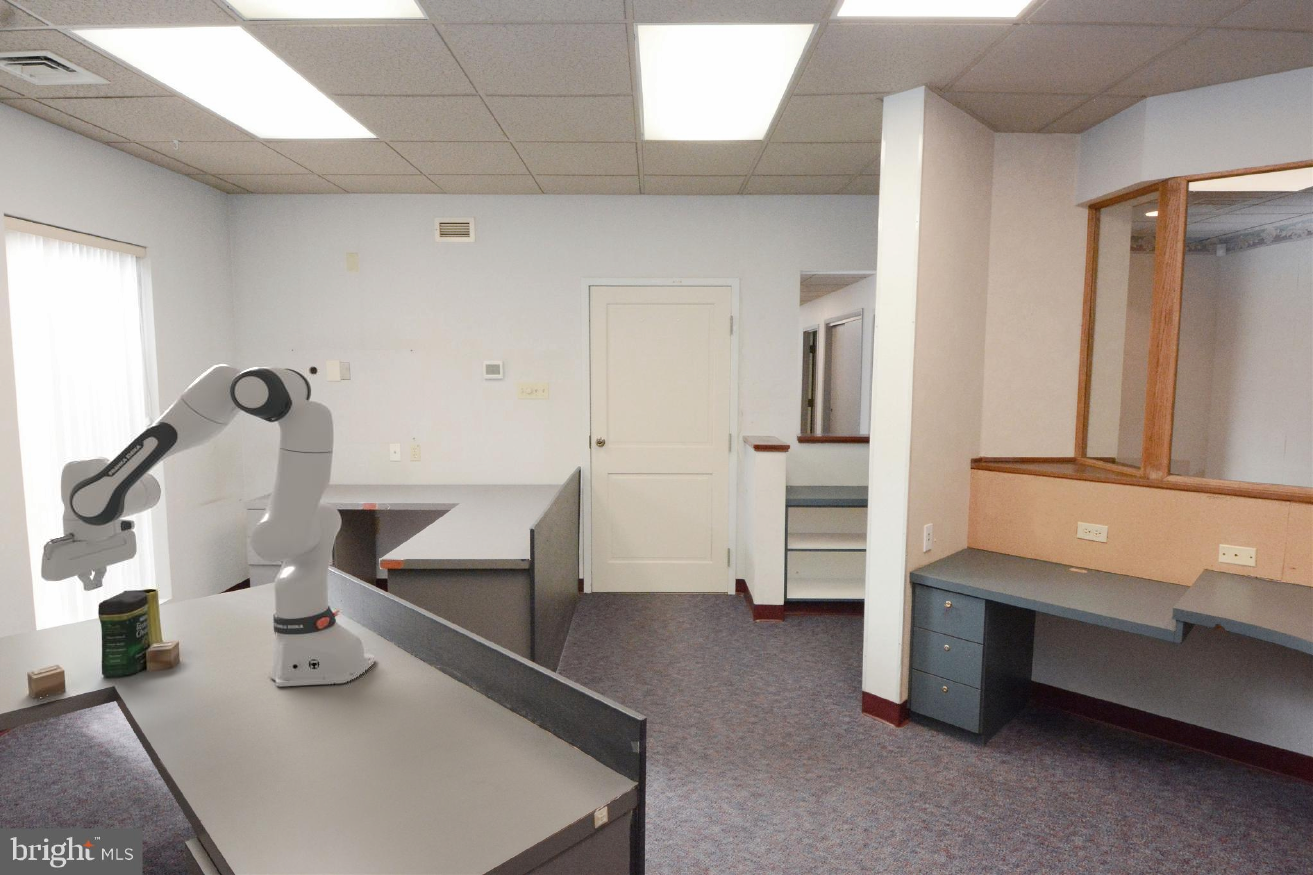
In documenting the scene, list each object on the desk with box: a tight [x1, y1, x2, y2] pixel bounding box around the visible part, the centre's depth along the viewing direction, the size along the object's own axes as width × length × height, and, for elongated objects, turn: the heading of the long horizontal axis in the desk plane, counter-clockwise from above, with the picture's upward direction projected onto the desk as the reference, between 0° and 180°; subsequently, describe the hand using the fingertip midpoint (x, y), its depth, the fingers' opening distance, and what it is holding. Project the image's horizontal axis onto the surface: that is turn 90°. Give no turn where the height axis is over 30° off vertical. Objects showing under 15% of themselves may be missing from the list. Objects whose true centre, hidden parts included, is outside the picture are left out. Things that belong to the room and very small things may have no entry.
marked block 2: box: [146, 640, 181, 672], centre depth 157 cm, size 5×5×5 cm
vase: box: [142, 588, 164, 647], centre depth 169 cm, size 6×6×14 cm
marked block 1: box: [27, 664, 67, 700], centre depth 143 cm, size 5×5×5 cm
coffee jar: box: [97, 589, 150, 679], centre depth 154 cm, size 10×8×19 cm
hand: (93, 588), depth 149 cm, fingers closed
